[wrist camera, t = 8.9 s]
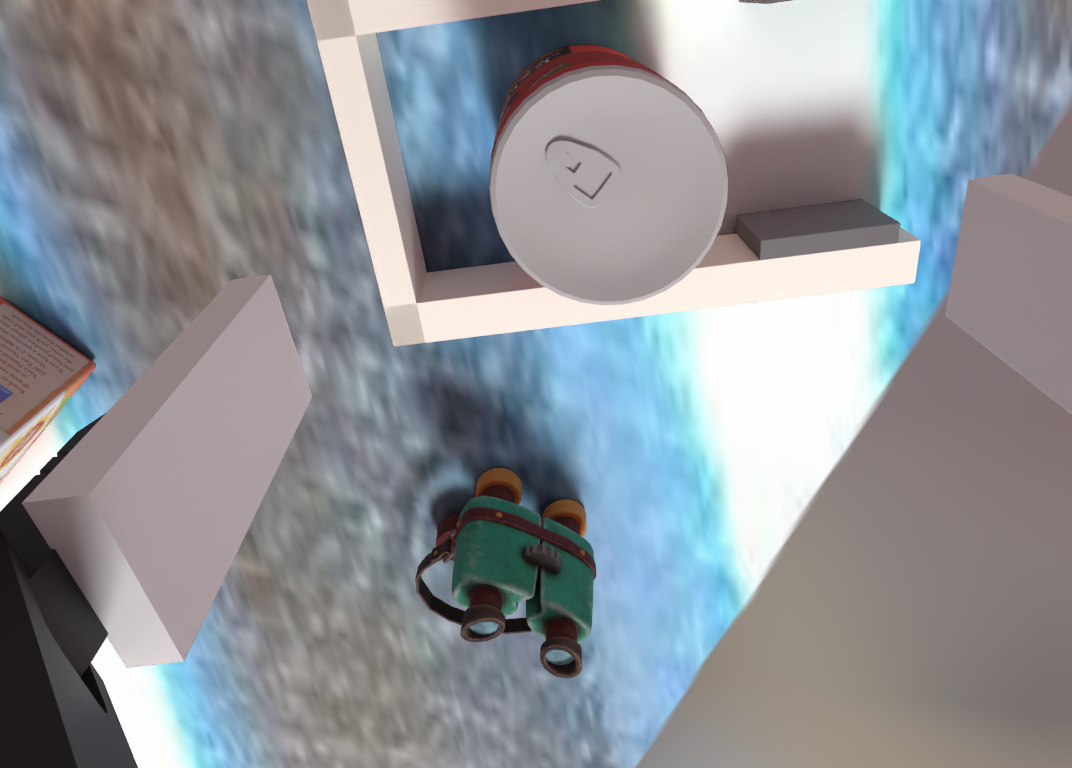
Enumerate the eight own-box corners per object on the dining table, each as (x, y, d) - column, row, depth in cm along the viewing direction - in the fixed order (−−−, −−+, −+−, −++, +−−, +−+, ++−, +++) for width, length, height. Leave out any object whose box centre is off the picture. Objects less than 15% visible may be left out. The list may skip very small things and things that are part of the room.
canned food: (531, 13, 30) (534, 24, 20) (699, 83, 31) (777, 125, 22) (475, 184, 33) (456, 263, 24) (629, 240, 35) (670, 336, 25)
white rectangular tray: (328, -19, 29) (301, -20, 26) (917, -106, 28) (973, -119, 25) (406, 312, 37) (393, 346, 33) (875, 254, 35) (914, 282, 32)
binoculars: (375, 696, 37) (464, 590, 32) (412, 544, 45) (487, 442, 40) (523, 750, 39) (628, 658, 34) (532, 595, 48) (616, 505, 43)
